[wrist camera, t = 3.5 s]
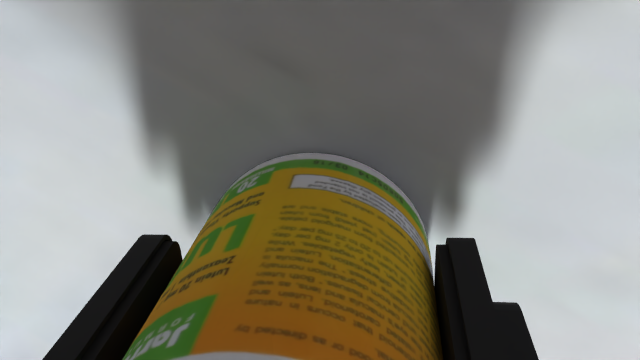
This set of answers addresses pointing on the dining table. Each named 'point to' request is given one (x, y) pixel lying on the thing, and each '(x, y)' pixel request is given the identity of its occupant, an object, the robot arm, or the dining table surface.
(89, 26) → the dining table surface
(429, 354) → the supplement bottle
